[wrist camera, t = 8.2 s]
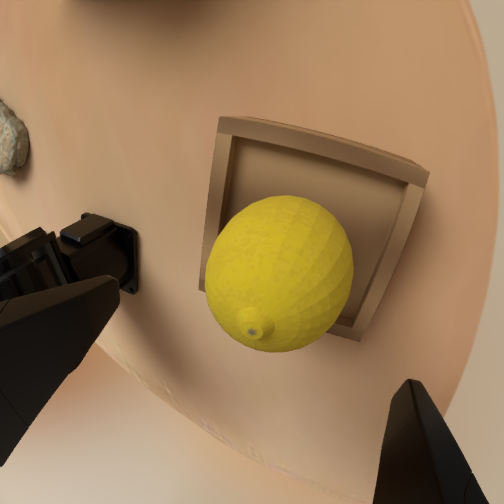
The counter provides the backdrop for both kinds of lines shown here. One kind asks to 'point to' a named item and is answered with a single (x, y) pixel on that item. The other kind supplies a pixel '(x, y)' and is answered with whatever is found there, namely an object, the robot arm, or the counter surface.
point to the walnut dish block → (320, 197)
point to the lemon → (279, 274)
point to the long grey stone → (12, 142)
